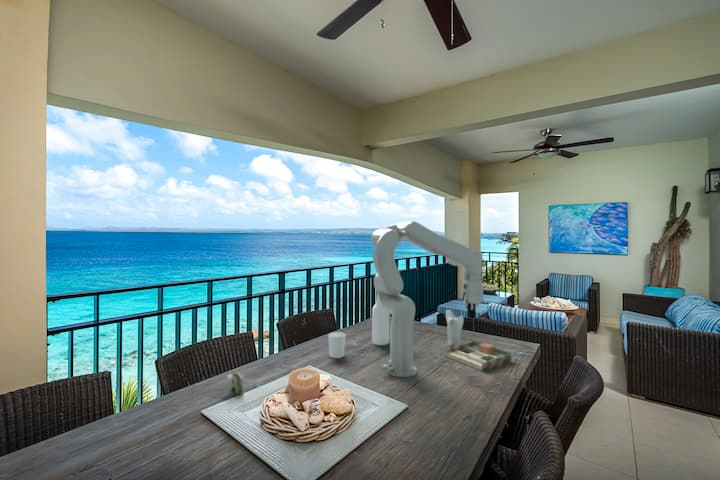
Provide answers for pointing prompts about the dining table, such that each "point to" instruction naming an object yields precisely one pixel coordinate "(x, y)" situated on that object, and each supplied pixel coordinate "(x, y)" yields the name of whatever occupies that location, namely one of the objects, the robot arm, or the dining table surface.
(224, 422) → the dining table surface
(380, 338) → the alcohol
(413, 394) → the dining table surface
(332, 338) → the white cup
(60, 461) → the dining table surface
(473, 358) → the box
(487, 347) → the block
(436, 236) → the robot arm
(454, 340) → the shell sculpture
